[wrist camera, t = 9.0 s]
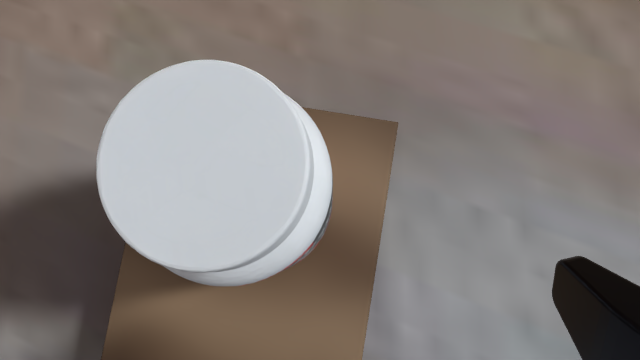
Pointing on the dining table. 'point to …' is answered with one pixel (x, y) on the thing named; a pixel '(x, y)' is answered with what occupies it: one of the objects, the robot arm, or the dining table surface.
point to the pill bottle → (215, 174)
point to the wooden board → (272, 277)
